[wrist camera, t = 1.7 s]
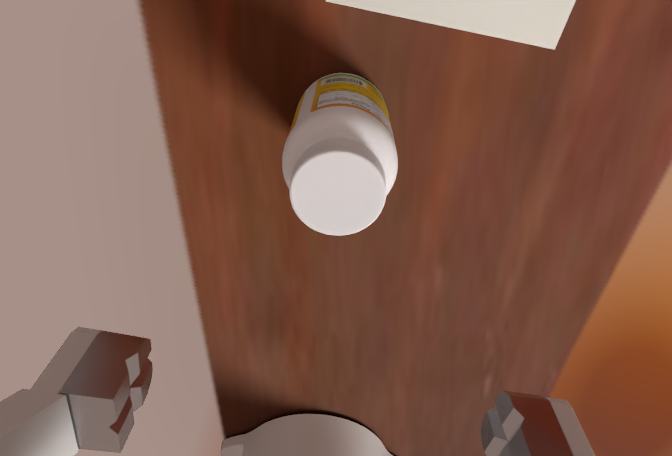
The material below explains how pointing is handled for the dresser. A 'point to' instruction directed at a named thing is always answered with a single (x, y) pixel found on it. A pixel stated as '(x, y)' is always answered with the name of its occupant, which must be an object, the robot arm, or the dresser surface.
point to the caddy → (483, 16)
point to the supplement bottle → (340, 155)
